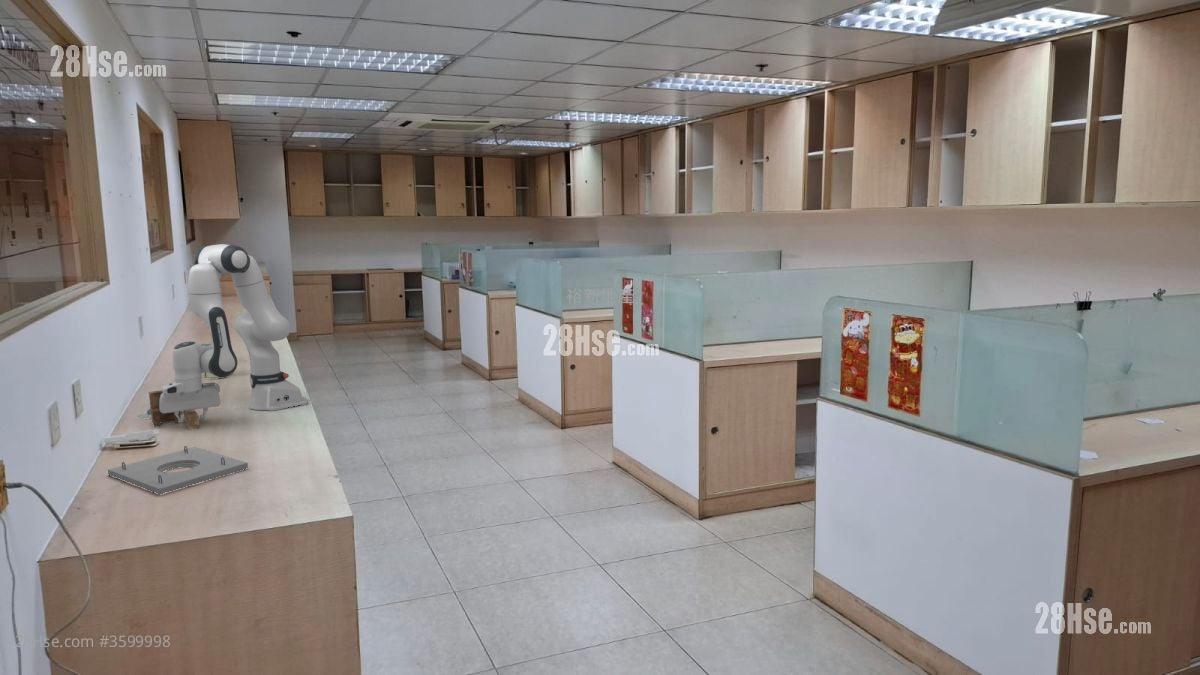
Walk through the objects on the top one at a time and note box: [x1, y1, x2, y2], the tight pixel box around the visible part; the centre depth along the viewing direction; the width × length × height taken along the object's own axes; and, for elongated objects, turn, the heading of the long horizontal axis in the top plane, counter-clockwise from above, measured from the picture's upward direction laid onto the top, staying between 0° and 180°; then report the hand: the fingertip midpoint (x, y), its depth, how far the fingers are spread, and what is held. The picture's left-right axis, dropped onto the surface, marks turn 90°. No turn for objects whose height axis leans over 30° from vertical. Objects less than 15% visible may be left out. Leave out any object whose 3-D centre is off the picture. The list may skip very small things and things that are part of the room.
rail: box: [183, 409, 201, 431], centre depth 282 cm, size 3×13×6 cm, turn 36°
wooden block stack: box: [148, 389, 182, 427], centre depth 285 cm, size 9×8×12 cm
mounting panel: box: [107, 445, 249, 494], centre depth 231 cm, size 27×5×30 cm
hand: (191, 420), depth 282 cm, fingers open, 6 cm apart
